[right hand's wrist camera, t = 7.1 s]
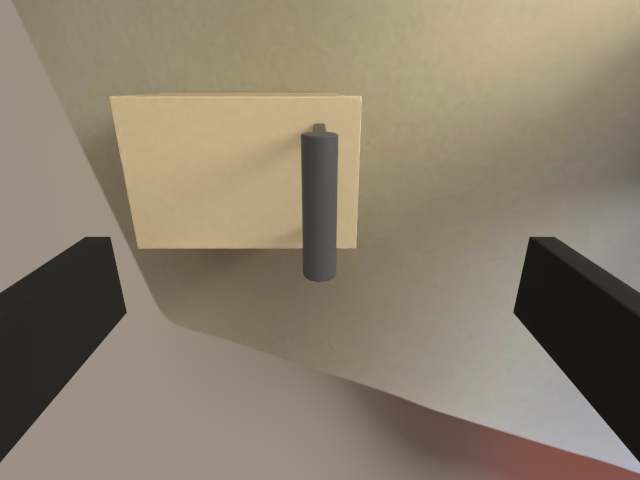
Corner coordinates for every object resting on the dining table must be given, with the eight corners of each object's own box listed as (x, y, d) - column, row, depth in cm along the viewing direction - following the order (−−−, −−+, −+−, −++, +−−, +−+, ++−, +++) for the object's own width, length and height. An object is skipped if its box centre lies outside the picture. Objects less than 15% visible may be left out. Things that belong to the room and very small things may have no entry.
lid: (360, 95, 24) (379, 101, 16) (354, 242, 28) (368, 305, 20) (117, 95, 24) (19, 102, 16) (144, 242, 28) (74, 306, 20)
